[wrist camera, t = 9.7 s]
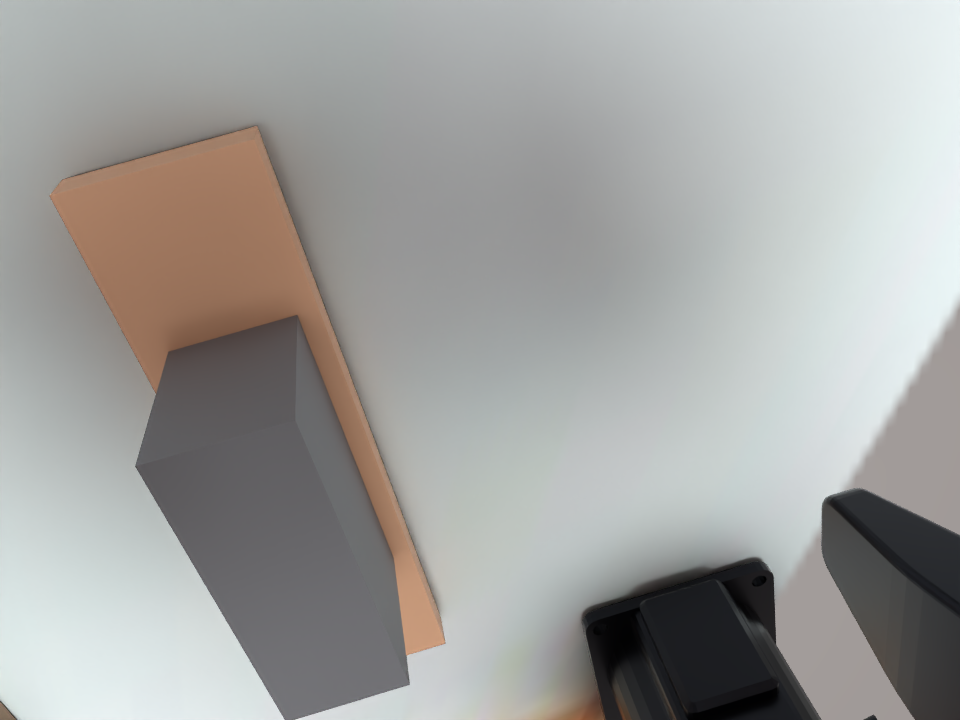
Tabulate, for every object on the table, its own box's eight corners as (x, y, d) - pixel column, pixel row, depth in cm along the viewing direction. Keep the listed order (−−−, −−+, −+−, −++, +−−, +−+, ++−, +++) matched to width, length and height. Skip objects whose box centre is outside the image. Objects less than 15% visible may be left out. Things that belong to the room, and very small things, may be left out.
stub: (440, 618, 26) (468, 771, 21) (312, 657, 26) (312, 819, 21) (256, 125, 17) (240, 213, 13) (62, 179, 17) (-23, 286, 13)
